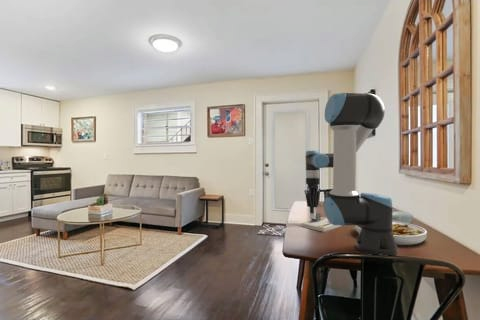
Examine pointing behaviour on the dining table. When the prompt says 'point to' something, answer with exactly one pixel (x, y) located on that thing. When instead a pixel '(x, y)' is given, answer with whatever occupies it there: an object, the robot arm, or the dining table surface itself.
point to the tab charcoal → (317, 217)
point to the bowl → (405, 233)
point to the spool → (402, 217)
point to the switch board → (320, 225)
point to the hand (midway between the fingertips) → (313, 218)
